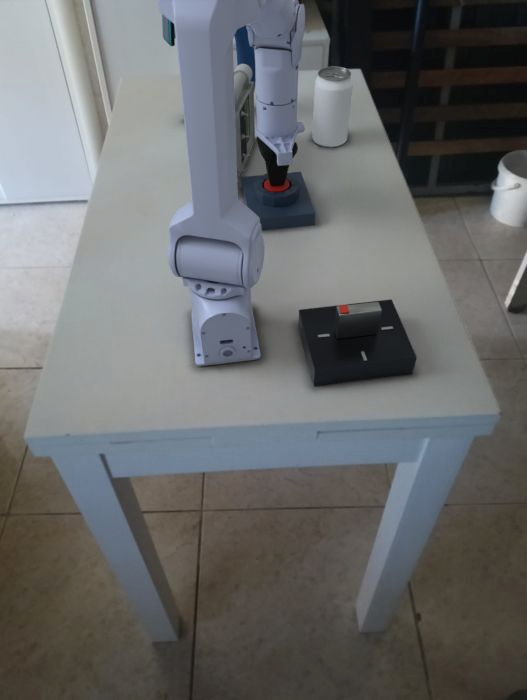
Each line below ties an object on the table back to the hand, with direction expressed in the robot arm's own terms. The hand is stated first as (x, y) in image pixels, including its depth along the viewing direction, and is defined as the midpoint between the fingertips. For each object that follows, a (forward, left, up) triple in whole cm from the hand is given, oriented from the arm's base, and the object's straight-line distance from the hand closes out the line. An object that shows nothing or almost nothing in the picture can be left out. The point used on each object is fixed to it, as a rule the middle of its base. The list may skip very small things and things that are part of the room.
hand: (276, 183), depth 89 cm
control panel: (-32, -4, -4) cm, 33 cm away
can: (+19, -13, -4) cm, 24 cm away
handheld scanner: (+31, +7, -4) cm, 33 cm away
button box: (0, 0, -4) cm, 4 cm away
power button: (0, 0, -2) cm, 2 cm away
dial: (-32, -4, -1) cm, 32 cm away
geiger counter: (+15, +5, -4) cm, 17 cm away
